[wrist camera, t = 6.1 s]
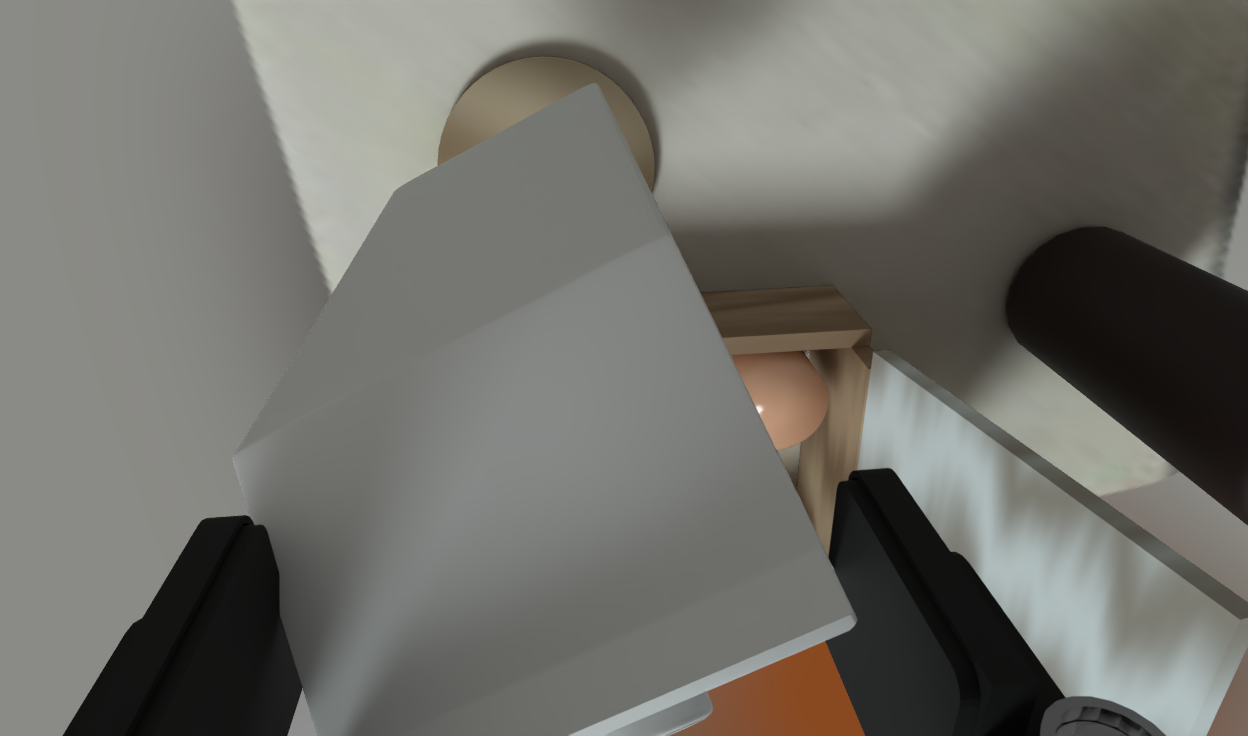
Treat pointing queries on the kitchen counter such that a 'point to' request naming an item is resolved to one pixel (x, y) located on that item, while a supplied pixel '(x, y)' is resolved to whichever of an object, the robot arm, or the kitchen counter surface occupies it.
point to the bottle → (1145, 348)
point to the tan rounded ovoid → (784, 394)
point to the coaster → (537, 105)
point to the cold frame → (1005, 518)
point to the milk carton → (528, 464)
